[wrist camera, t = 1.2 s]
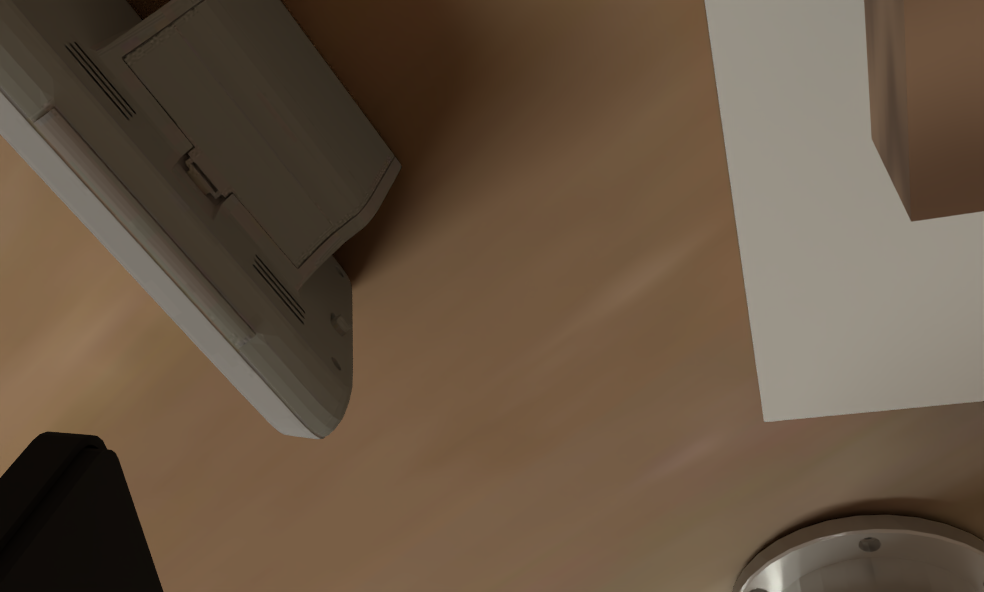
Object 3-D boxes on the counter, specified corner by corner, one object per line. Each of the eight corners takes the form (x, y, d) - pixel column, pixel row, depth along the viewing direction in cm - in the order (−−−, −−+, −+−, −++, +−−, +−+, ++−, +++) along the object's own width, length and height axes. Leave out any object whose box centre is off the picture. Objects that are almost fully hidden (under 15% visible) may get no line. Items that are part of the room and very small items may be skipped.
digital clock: (26, -57, 31) (-225, 39, 22) (247, -165, 28) (59, -103, 19) (260, 323, 39) (141, 509, 30) (454, 269, 36) (386, 458, 27)
